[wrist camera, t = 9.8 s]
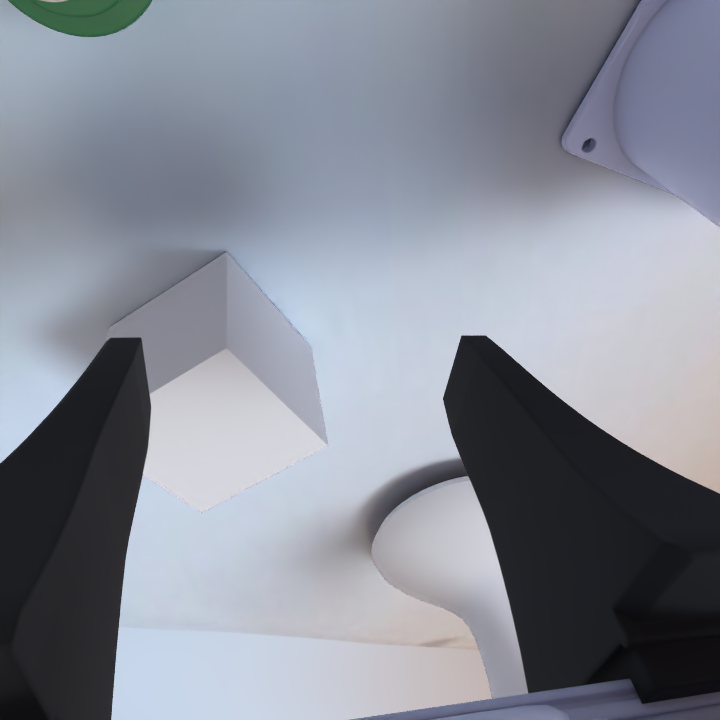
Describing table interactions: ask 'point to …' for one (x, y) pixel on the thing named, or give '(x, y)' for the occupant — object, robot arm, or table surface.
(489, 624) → the flower in vase
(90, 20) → the bottle
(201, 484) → the white cube
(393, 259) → the table surface
